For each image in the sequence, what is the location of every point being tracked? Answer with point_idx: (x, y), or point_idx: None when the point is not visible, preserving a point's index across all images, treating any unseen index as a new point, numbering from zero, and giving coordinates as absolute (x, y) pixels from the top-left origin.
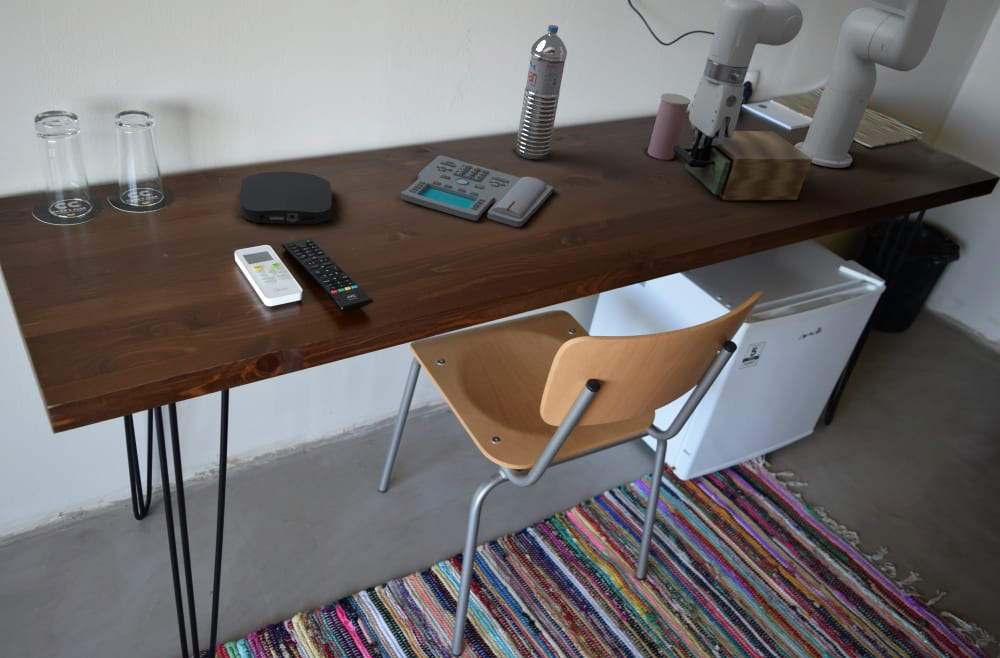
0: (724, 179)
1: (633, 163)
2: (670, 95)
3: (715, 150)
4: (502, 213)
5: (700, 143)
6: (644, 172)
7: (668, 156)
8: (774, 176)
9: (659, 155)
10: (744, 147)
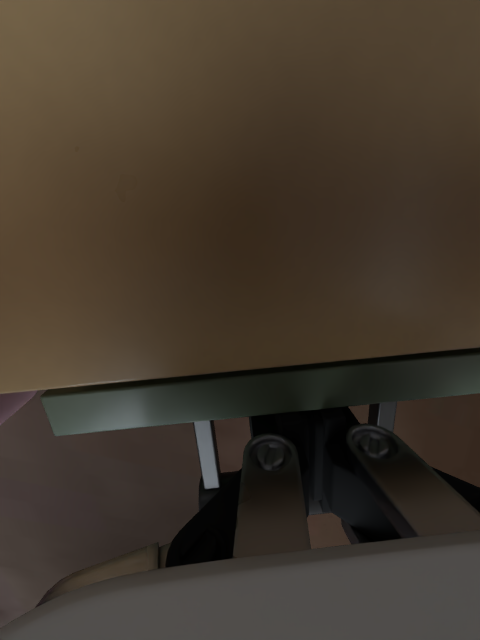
0: None
1: (112, 474)
2: None
3: (355, 381)
4: None
5: (358, 534)
6: (180, 461)
7: None
8: None
9: (30, 394)
10: (446, 68)
